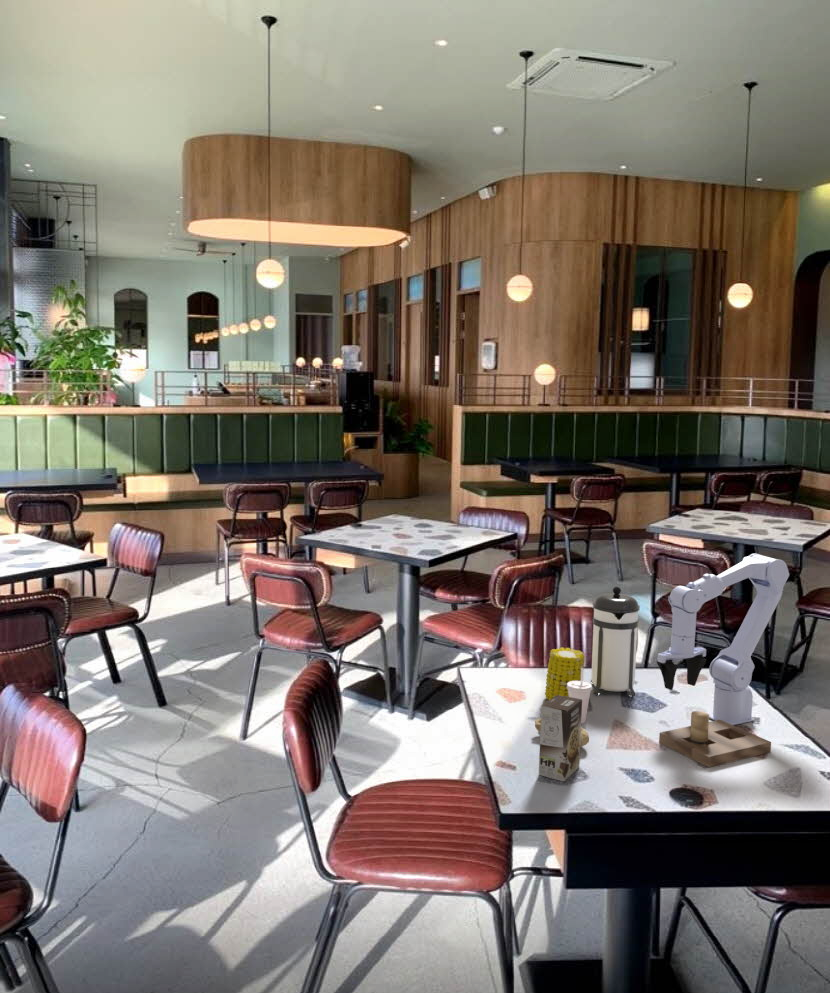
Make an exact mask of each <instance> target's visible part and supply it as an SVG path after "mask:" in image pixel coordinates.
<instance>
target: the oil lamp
mask: <svg viewBox="0 0 830 993" xmlns="http://www.w3.org/2000/svg"><path fill="white" fill-rule="evenodd" d="M534 723H535V724H534V727H535V729H536V730H537V731H538V733H540V729H541V718H537V719H535V721H534ZM589 742H590V735H589V733H588V732H587V730H586V729H585V728H583V727H582V726H581V739H580V748H581V747H584V746H586V745H588V744H589Z"/></svg>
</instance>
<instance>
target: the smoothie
mask: <svg viewBox="0 0 830 993" xmlns="http://www.w3.org/2000/svg"><path fill="white" fill-rule="evenodd" d="M583 668H584V667H583ZM583 668H581V681H570V682H568V683H567V689H568V695H569V697H572V698H577V699H581V700H582V715H581V724H584V723H586V719H587V712H588V708H589V700H590V695H591V691H592V690H593V685H592V684H591V682H587V681H584V669H583Z"/></svg>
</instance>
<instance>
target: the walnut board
mask: <svg viewBox="0 0 830 993" xmlns="http://www.w3.org/2000/svg"><path fill="white" fill-rule="evenodd" d="M690 730H691V725H689V726H685V727H680V728H676V729H671V730H670V729H669V730H666V731H661V732H659V735H658V743H659V744H661V745H663V746H665V747H667V748H669V749H671V750H673V751H674V752H677V753H678V754H681V755H683V756H685V757H687V758H689V759H691V760H693V761H695V762H697V763H698V764H701V765H703V766H704V767H706V768H712V767H716V766H720V765H724V764H728V763H732V762H736V760H737V761H740V759H741V760H745V759H748V758H753V757H756V756H760V755H763V754H764V755H765V754H770V753H771V751H772V750H771V749H772V741H770V740H767V739H765V738H763V737H761V736H759V735H756V734H754V733H752V732H749V731H747V730H744V729H743V728H740V727H738V726H737V725H731V724H729V723H727V722H724V721H722V720H716V721H715V720H711V721H709V727H708V742H707V743H706V746H701V747H698V746H696V745H694V744H692V741H690Z"/></svg>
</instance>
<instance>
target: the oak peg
mask: <svg viewBox="0 0 830 993" xmlns="http://www.w3.org/2000/svg"><path fill="white" fill-rule="evenodd" d="M709 714H710V713H708V712H705V711H699V710H698V711H697V710H696V711H692V712H691V713H690V715H691V716H690V726H691V730H690V741H692V744H694V745H696V746H698V747H701V746H706V743H707V742H708V727H709V722H710V718H709Z"/></svg>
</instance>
